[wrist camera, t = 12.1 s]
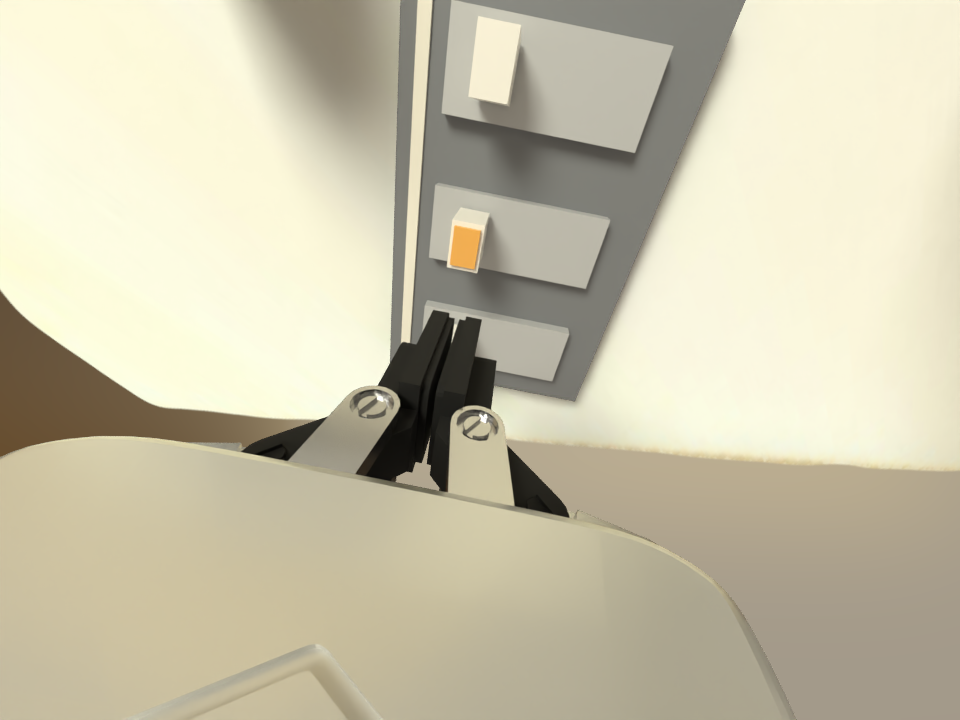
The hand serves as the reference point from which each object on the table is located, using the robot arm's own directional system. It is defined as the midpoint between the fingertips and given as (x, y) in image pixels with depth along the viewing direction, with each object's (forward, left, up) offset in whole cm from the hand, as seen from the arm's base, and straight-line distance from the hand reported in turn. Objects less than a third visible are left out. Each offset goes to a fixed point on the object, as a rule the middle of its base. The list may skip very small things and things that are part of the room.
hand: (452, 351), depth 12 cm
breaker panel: (-2, 0, -19) cm, 19 cm away
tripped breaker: (+1, 0, -15) cm, 15 cm away
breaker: (+1, -9, -15) cm, 18 cm away
